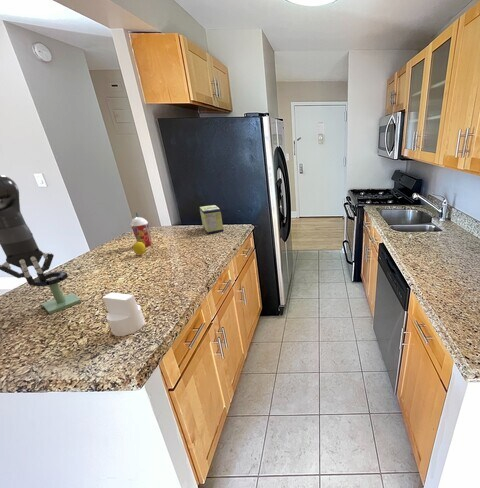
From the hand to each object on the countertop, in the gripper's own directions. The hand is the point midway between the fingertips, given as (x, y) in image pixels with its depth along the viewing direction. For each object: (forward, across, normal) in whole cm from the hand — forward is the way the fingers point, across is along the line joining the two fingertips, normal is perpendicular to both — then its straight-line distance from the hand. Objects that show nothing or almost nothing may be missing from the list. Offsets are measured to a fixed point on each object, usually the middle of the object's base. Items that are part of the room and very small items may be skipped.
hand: (38, 283), depth 92 cm
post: (+11, -3, 0) cm, 11 cm away
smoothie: (+11, -49, -37) cm, 63 cm away
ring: (0, -3, 0) cm, 3 cm away
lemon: (+11, -41, -24) cm, 49 cm away
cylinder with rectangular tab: (+11, -11, +36) cm, 39 cm away
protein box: (+11, -89, -28) cm, 94 cm away
